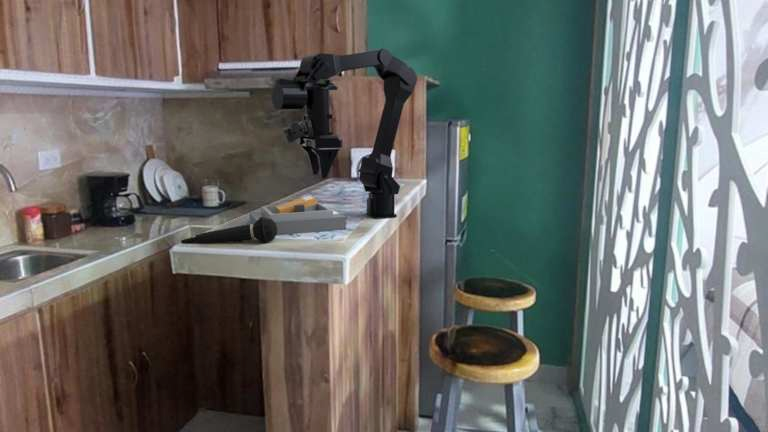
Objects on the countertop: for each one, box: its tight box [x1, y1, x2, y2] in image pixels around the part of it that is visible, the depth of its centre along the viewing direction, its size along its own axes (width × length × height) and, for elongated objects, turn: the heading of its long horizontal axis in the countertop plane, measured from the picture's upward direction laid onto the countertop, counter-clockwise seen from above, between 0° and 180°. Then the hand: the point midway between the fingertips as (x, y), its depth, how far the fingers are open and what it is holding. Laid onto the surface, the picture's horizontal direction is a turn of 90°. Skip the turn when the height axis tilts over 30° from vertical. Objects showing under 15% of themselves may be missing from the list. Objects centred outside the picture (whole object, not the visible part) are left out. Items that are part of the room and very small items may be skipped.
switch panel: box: [248, 199, 347, 236], centre depth 124 cm, size 20×14×6 cm
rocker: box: [274, 194, 319, 213], centre depth 124 cm, size 9×5×2 cm, turn 112°
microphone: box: [180, 217, 278, 244], centre depth 109 cm, size 6×6×20 cm
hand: (319, 176), depth 125 cm, fingers open, 8 cm apart
